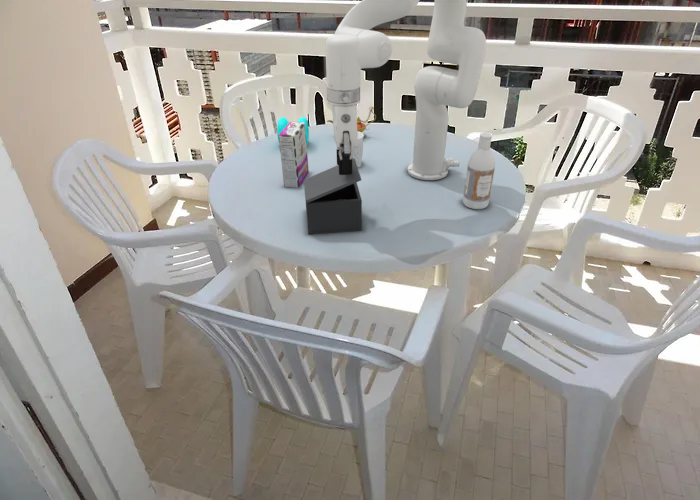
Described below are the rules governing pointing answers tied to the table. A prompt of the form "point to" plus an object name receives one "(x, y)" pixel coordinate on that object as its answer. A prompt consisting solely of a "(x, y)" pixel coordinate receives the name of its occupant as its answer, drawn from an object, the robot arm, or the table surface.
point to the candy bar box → (294, 154)
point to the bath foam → (479, 175)
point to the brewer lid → (329, 182)
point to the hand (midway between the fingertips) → (344, 168)
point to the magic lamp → (360, 126)
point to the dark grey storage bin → (336, 212)
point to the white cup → (358, 149)
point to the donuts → (284, 122)
